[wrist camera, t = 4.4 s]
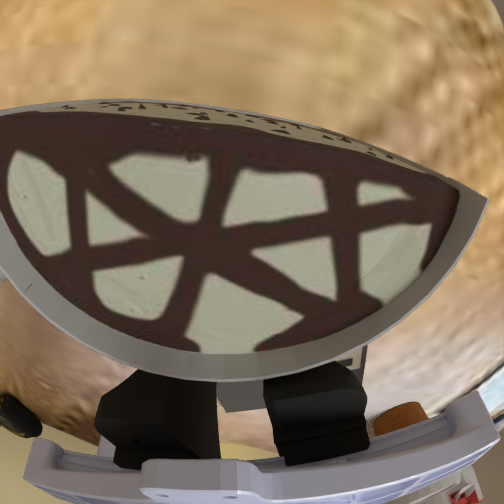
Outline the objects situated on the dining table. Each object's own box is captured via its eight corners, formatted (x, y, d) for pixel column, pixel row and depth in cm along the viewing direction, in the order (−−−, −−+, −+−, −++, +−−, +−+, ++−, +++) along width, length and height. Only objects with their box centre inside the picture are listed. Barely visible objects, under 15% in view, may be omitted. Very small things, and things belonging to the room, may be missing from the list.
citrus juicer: (478, 426, 41) (507, 499, 24) (444, 457, 50) (465, 519, 33) (417, 451, 41) (443, 537, 24) (390, 477, 50) (407, 546, 33)
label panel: (226, 405, 25) (226, 415, 24) (199, 350, 21) (197, 362, 20) (358, 381, 24) (362, 391, 23) (366, 320, 20) (370, 331, 19)
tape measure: (48, 420, 29) (41, 442, 26) (23, 418, 30) (16, 438, 27) (13, 390, 26) (3, 413, 22) (-9, 390, 26) (-18, 410, 23)
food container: (96, 213, 15) (-13, 341, 6) (103, 97, 12) (-57, 122, 3) (321, 246, 17) (396, 396, 8) (352, 136, 14) (502, 205, 5)
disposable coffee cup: (401, 390, 26) (437, 488, 16) (444, 395, 29) (477, 472, 19) (344, 433, 30) (364, 520, 20) (393, 434, 33) (415, 506, 23)
